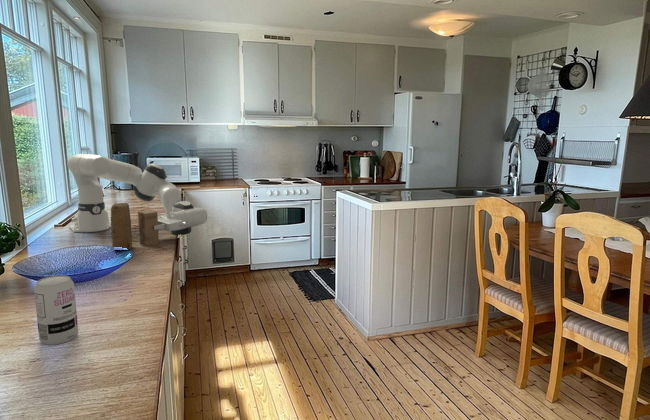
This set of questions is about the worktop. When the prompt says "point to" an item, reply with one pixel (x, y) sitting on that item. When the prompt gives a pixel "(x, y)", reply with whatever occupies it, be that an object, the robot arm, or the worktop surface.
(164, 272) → the worktop surface
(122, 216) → the block
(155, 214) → the walnut block
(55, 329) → the supplement can
